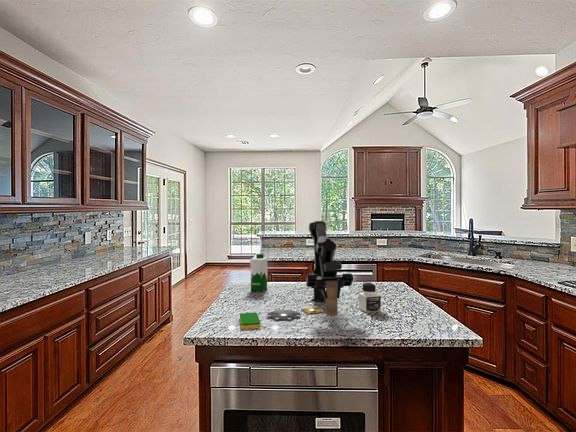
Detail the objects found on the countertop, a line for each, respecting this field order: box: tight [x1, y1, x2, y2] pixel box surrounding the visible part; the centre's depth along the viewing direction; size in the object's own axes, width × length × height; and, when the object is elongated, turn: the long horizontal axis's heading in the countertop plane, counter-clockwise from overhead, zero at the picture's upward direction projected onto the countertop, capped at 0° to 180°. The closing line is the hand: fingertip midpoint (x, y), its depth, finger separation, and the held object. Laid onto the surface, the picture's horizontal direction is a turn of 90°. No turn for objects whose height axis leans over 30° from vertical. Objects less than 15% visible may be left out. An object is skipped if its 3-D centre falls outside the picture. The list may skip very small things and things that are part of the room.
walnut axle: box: [325, 280, 339, 317], centre depth 133 cm, size 4×4×13 cm
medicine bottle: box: [358, 281, 382, 314], centre depth 148 cm, size 7×7×12 cm
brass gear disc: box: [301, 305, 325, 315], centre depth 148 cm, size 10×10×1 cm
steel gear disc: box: [266, 308, 301, 322], centre depth 141 cm, size 14×14×1 cm
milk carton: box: [249, 253, 268, 293], centre depth 188 cm, size 9×9×20 cm
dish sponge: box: [239, 311, 261, 330], centre depth 133 cm, size 7×14×2 cm, turn 11°
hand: (332, 298), depth 131 cm, fingers closed on walnut axle, 4 cm apart
